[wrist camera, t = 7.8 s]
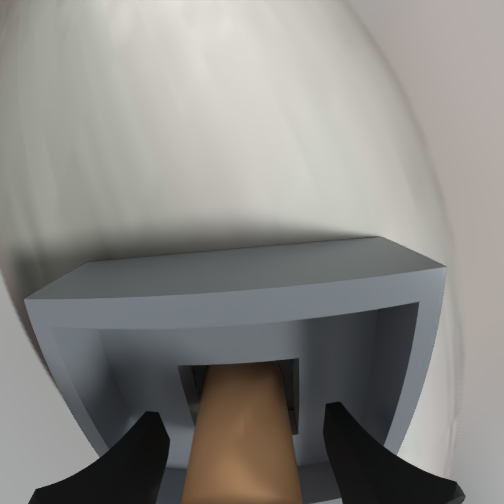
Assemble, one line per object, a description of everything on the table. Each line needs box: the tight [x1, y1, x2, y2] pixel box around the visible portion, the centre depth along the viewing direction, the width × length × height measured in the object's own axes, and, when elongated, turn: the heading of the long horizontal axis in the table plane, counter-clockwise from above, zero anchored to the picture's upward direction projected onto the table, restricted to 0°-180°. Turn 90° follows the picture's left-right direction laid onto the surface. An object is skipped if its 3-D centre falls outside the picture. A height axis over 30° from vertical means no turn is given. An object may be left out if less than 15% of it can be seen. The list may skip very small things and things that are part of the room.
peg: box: [181, 361, 303, 504], centre depth 10 cm, size 4×4×8 cm
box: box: [24, 237, 447, 504], centre depth 11 cm, size 14×14×5 cm
